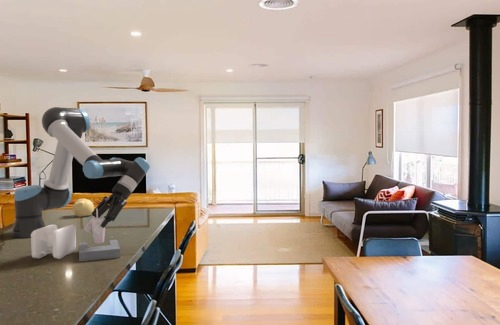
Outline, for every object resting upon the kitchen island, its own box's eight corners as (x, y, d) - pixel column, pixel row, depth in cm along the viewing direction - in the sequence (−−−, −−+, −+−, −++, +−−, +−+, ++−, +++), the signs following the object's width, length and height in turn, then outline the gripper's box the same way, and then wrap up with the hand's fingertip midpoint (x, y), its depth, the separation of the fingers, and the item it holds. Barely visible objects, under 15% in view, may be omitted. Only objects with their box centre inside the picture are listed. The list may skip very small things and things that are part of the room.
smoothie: (93, 240, 175) (92, 207, 175) (109, 240, 176) (108, 207, 175) (88, 244, 169) (88, 210, 168) (105, 244, 170) (104, 209, 169)
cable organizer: (55, 261, 159) (55, 231, 159) (30, 260, 161) (29, 230, 160) (76, 251, 174) (76, 223, 173) (53, 250, 175) (52, 223, 175)
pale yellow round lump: (72, 215, 255) (72, 197, 255) (93, 213, 260) (93, 196, 260) (73, 218, 245) (72, 200, 244) (94, 216, 250) (94, 198, 249)
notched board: (79, 251, 174) (78, 242, 174) (116, 247, 180) (116, 239, 180) (79, 261, 159) (78, 252, 159) (120, 257, 165) (120, 248, 165)
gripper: (143, 195, 178) (110, 240, 166) (116, 191, 189) (84, 234, 178) (132, 184, 173) (98, 229, 161) (105, 181, 185) (71, 223, 173)
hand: (90, 232), depth 169 cm, fingers closed on smoothie, 6 cm apart
